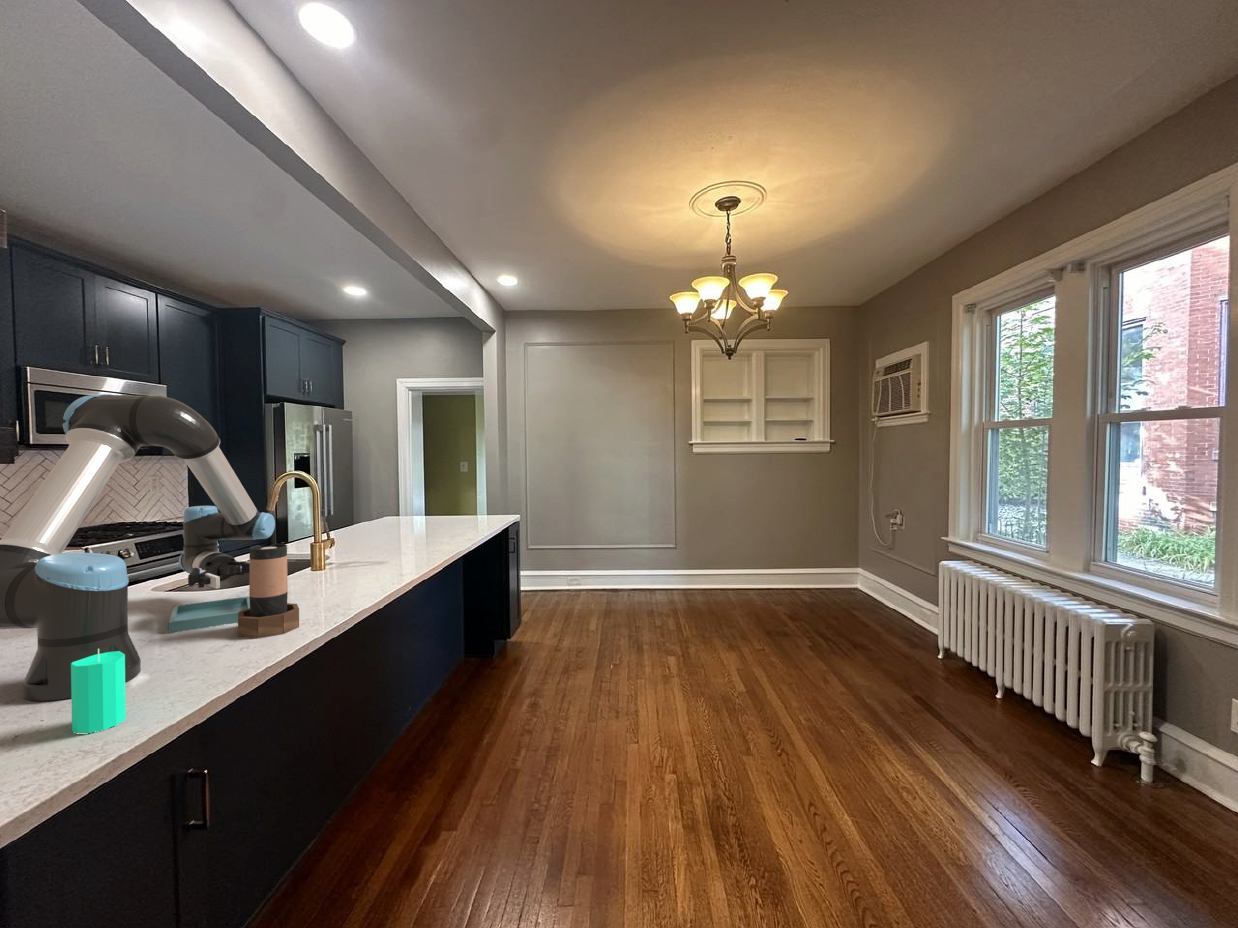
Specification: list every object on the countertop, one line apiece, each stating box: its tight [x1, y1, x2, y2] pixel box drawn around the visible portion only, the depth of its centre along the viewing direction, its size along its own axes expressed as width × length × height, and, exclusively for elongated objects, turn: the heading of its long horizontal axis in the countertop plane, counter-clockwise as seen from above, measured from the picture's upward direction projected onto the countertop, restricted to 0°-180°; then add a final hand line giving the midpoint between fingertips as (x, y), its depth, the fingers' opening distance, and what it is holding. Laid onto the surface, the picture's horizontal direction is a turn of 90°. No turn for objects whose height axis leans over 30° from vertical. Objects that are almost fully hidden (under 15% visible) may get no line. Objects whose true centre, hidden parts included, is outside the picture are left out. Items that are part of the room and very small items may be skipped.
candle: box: [71, 649, 127, 733], centre depth 81 cm, size 6×6×12 cm
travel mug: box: [248, 543, 289, 617], centre depth 125 cm, size 8×8×20 cm
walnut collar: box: [237, 602, 300, 639], centre depth 125 cm, size 12×12×4 cm
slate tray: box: [168, 595, 250, 634], centre depth 133 cm, size 16×16×2 cm
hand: (250, 577), depth 131 cm, fingers open, 13 cm apart
